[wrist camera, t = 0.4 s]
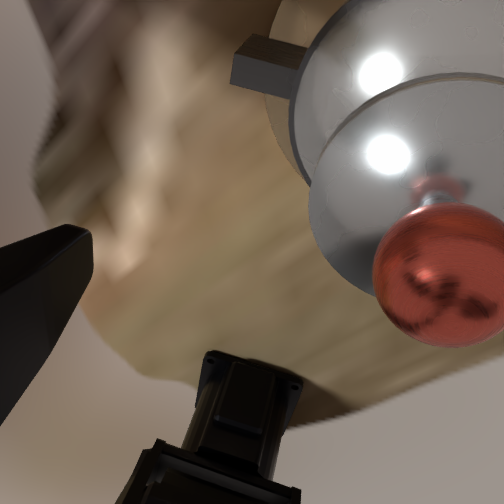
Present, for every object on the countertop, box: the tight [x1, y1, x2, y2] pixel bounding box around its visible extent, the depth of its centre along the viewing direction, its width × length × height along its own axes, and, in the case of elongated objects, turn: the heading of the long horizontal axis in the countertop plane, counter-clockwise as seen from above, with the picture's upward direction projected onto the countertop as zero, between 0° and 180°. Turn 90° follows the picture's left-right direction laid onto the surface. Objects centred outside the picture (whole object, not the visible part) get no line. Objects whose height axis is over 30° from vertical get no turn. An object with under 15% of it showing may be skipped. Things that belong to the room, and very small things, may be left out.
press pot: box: [230, 0, 504, 187], centre depth 16 cm, size 12×12×4 cm
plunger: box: [308, 72, 504, 348], centre depth 10 cm, size 6×6×4 cm
